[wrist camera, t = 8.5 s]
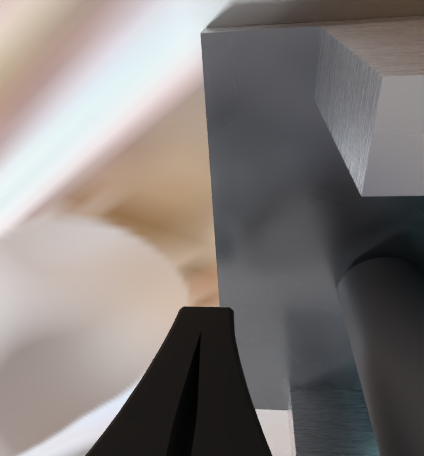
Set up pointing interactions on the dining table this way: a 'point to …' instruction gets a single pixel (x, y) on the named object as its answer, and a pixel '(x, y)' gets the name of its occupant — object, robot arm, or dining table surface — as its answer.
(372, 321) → the ram
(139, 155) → the dining table surface
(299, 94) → the press
